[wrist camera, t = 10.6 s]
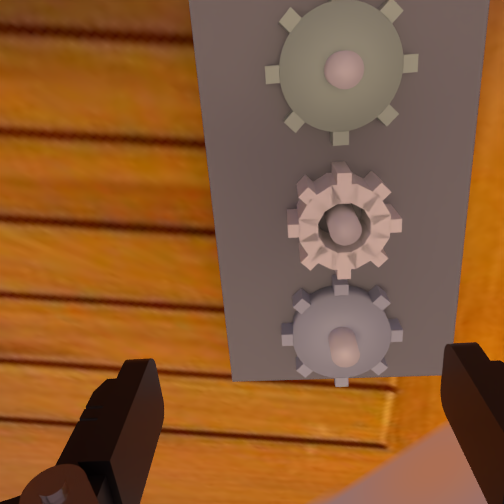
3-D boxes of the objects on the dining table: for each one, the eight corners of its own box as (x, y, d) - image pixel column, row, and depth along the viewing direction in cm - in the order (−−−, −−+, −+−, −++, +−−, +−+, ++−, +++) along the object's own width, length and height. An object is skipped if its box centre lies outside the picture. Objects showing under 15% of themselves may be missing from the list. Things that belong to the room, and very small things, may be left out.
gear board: (192, -5, 26) (174, -18, 22) (482, -33, 25) (527, -53, 21) (234, 369, 36) (228, 414, 32) (443, 362, 35) (467, 408, 31)
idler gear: (284, 165, 28) (285, 176, 26) (392, 158, 28) (404, 169, 25) (289, 261, 31) (290, 281, 28) (388, 257, 30) (399, 276, 28)
